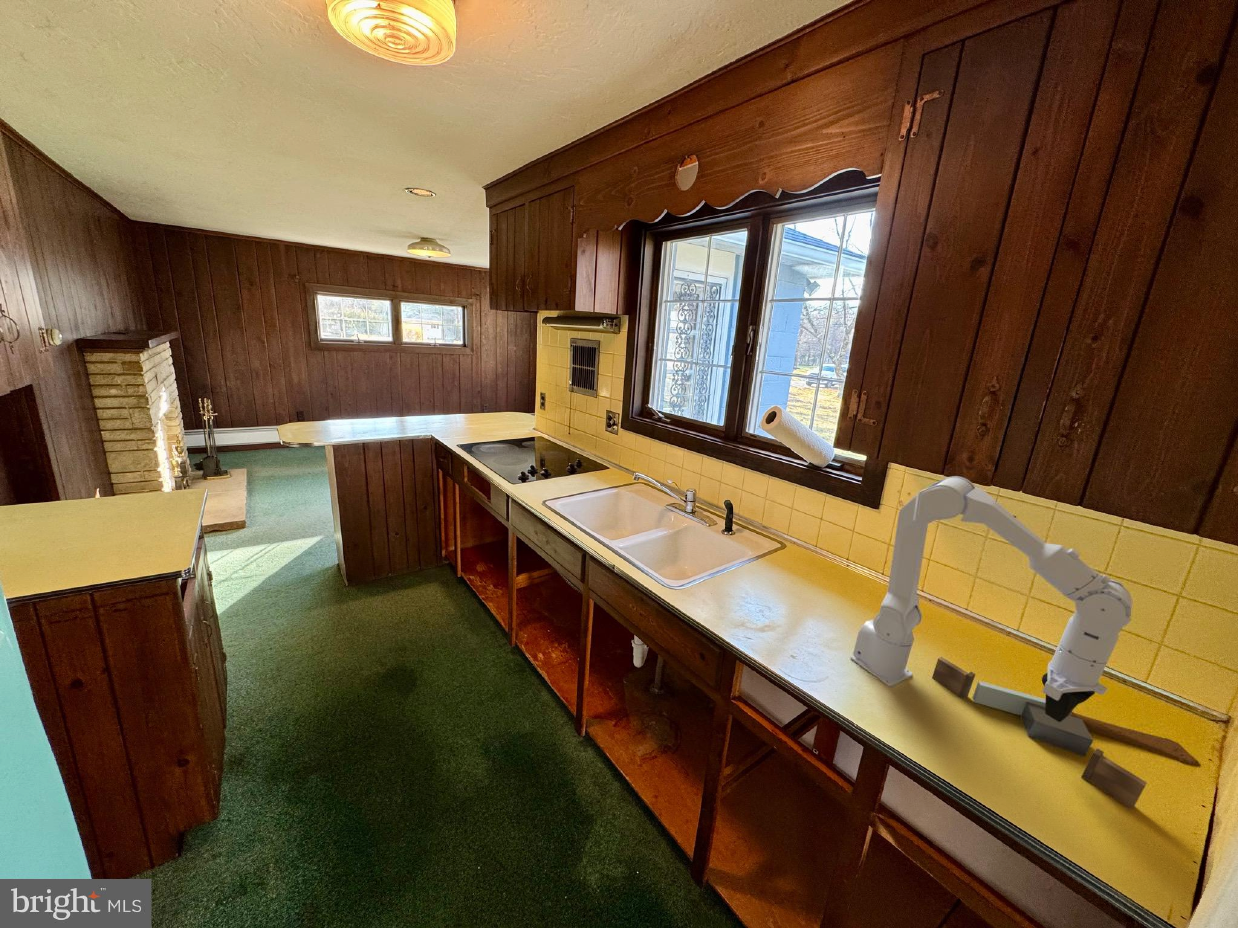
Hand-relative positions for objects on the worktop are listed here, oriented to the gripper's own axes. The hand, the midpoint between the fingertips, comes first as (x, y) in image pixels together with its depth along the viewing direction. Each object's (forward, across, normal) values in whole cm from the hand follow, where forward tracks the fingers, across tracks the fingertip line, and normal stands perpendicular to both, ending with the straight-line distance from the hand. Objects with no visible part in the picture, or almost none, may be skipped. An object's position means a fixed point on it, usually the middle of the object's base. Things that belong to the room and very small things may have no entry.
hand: (1054, 716), depth 79 cm
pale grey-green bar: (+8, +7, +6) cm, 12 cm away
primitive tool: (+9, +20, -6) cm, 23 cm away
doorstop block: (+8, +7, +1) cm, 11 cm away
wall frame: (+8, +2, +4) cm, 9 cm away
